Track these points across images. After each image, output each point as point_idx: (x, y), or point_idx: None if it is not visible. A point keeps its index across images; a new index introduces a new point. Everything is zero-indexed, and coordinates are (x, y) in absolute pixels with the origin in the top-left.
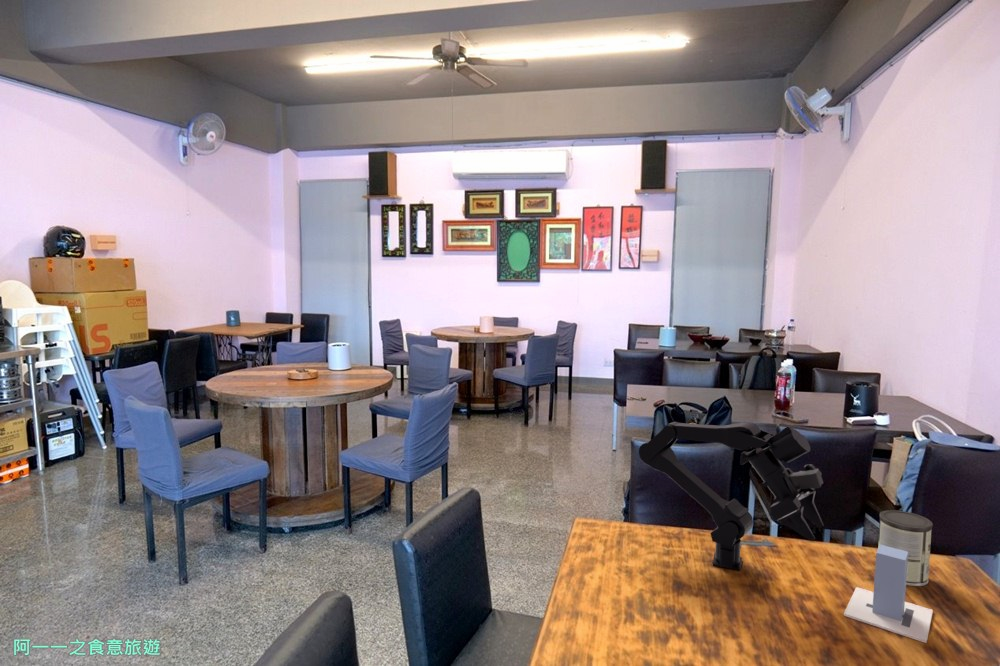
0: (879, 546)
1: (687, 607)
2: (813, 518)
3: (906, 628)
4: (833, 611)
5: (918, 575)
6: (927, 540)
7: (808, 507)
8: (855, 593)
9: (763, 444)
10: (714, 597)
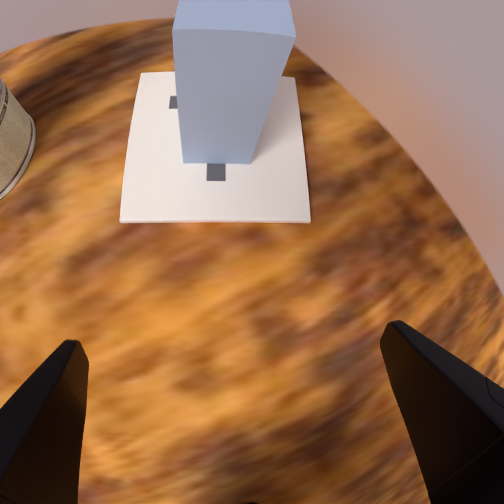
0: (201, 28)
1: None
2: (68, 424)
3: (273, 103)
4: (304, 248)
5: (20, 105)
6: None
7: (31, 501)
8: (164, 215)
9: None
10: (414, 463)
